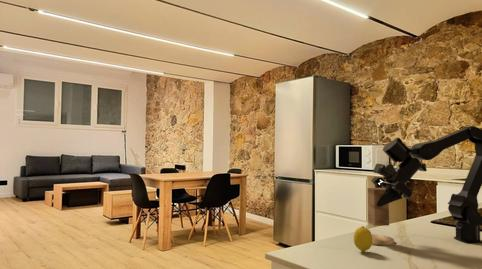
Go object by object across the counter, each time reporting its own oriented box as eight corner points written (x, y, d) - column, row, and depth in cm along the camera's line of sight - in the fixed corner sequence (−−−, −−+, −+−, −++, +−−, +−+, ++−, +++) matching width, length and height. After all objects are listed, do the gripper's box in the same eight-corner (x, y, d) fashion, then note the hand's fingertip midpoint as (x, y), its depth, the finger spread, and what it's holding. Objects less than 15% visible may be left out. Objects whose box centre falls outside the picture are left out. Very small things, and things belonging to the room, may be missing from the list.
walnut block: (382, 222, 122) (381, 187, 122) (389, 225, 117) (388, 189, 117) (368, 222, 122) (367, 187, 122) (374, 225, 117) (373, 189, 117)
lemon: (374, 255, 105) (373, 228, 105) (354, 254, 106) (354, 227, 106) (371, 250, 110) (370, 224, 111) (352, 249, 112) (352, 223, 112)
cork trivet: (384, 236, 127) (384, 234, 127) (400, 245, 116) (400, 242, 116) (354, 237, 126) (354, 234, 126) (368, 245, 115) (368, 242, 115)
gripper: (375, 154, 130) (347, 185, 129) (402, 155, 111) (369, 191, 110) (396, 175, 130) (368, 206, 129) (426, 180, 111) (394, 216, 110)
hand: (374, 204), depth 119 cm, fingers closed on walnut block, 5 cm apart
